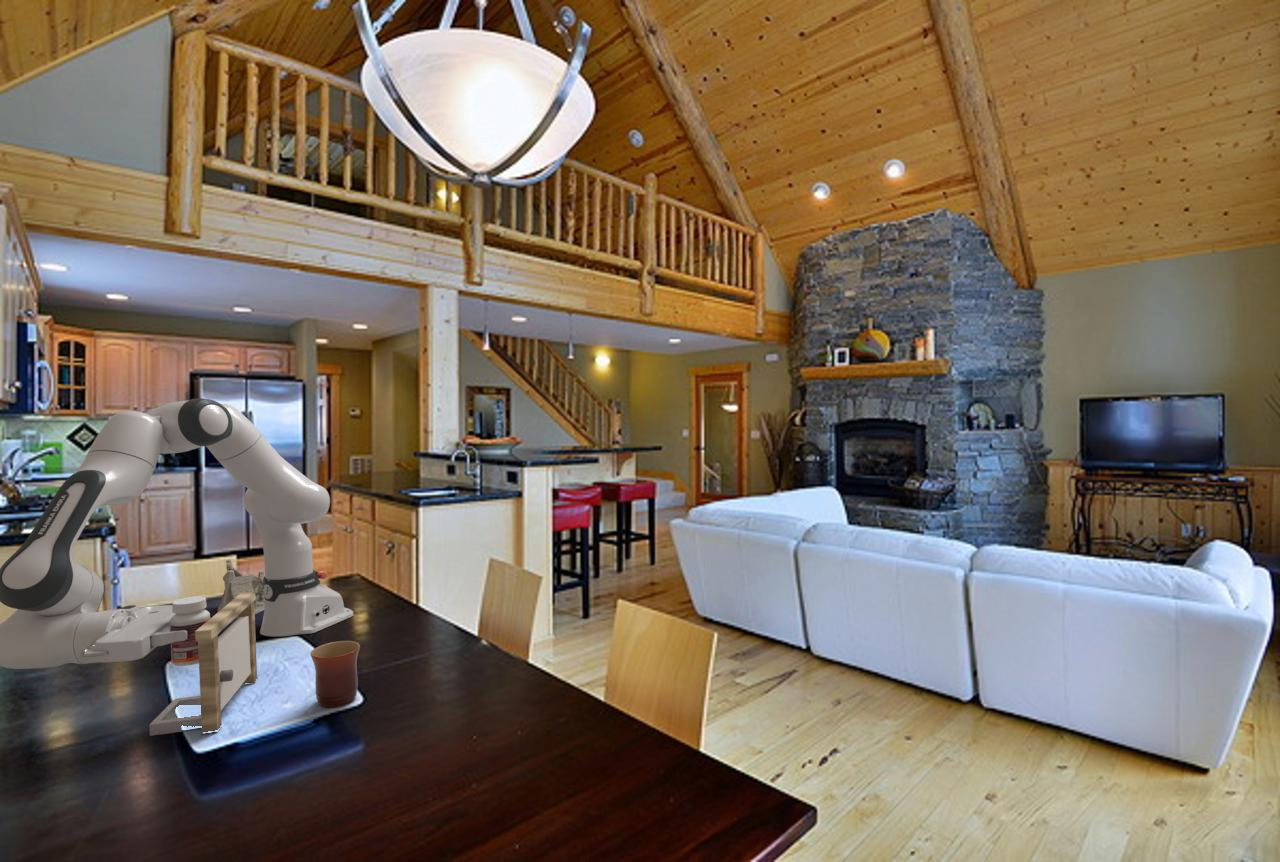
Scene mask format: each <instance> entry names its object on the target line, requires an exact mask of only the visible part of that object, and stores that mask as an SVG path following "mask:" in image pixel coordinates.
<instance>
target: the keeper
mask: <svg viewBox="0 0 1280 862" xmlns="http://www.w3.org/2000/svg"><path fill="white" fill-rule="evenodd" d="M179 705H201V699H200V695H197V696H194V695H193V696H187V697H181V698H180V697H179V698H174V699H173V700H172V701H171V702H170V703H169V704H168V705H167V706H166V707H165V708H164V709H163V710H162V711H161V712H160V713H159V715H157V716H156V717H155V718H154V720H152V722H150V724H149V725H148V726H149V728H148V729H149V736H150V737H151V736H158V735H159V736H160V735H167V734H175V733H181V732H182V731H181V726H182V725H183V726H187V727H188V726H192V727H193V726H194V727H195V726H202V722H201V715H199V716H191V717H184V718H176V715H175V709H176V707H178V706H179Z"/></svg>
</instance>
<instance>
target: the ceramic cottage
mask: <svg viewBox="0 0 1280 862" xmlns="http://www.w3.org/2000/svg"><path fill="white" fill-rule="evenodd" d="M225 562H226V563H225V564H226V567H225V568H226V572H225V574H224V575H223V576H222V581H224V589H223V594H222V595H221V598H222V599H221V602H220V604H219V606H217V610H216V611H217V613H218V612H219V611H220V610H221V609H223V608H224V607H225V606H226V605H227V604H229V603H230V602H231V601H232V600H233V599H235V598H236V597H237V596H238V595H239V594H240V593H242V592H247V591H255V598H256V599H255V600H254V611H255V615H257V614H259V613H260V612H264V608H265V599H264V590H263V578H264V577H265V570H259V571H258V575H255V574H254V573H251V574H246V575H244V574H243V572H240V571H239V570H238V569H235V567H233V563H232V560H231V559H230V558H229V559H226V560H225ZM238 618H239V617H238V616H237V617H236V618H235V619H238Z"/></svg>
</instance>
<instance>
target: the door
mask: <svg viewBox="0 0 1280 862" xmlns="http://www.w3.org/2000/svg"><path fill="white" fill-rule="evenodd" d="M218 652H219V676H220V699H221V710H222V709H223V708H224V709H225V707H226V706H227V705H228V704H227V703H229V701H230V700H231V698H232V697H233V696H234V695H235V694H236V692H238V690H239V689H240V687H241V686H243V685H242V684H243V682H244V681H245V680H246V679H247V677H248V676H249V675H250V674H251V667H250V642H249V617H248V616H246V617H239V618H236V620H235V621H233V623H232V624H231V625H229V626H228V627H227V628H226V629H225V630H224V631H223V632H222V633H221V634H220V635H218ZM226 704H227V705H226ZM225 705H226V706H225ZM224 706H225V707H224ZM224 709H223V710H224ZM223 710H222V711H223Z"/></svg>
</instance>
